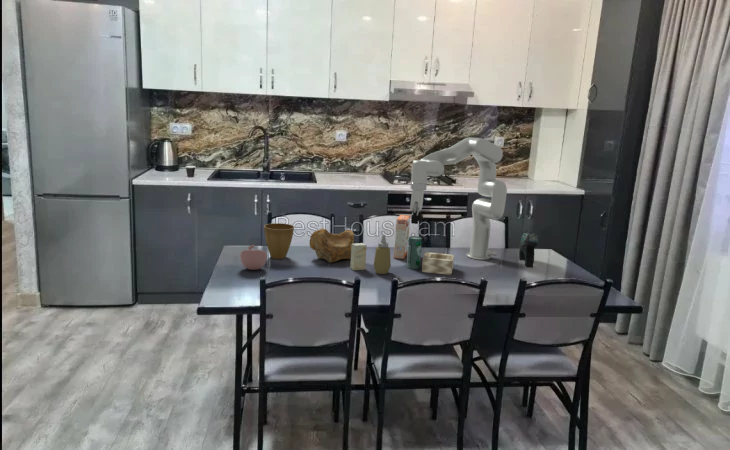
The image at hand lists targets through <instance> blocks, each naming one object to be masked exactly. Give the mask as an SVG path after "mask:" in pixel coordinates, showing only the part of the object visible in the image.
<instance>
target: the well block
mask: <svg viewBox="0 0 730 450" xmlns="http://www.w3.org/2000/svg"><path fill="white" fill-rule="evenodd" d="M454 257H455V254H448V253H439V252H427V251H425V253H424V254H423V257H422V264H421V272H422V273H429V274H430V273H431V274H439V275H440V274H441V275H447V276H452V273H453V269H454V259H455V258H454Z"/></svg>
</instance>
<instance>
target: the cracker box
mask: <svg viewBox="0 0 730 450" xmlns="http://www.w3.org/2000/svg"><path fill="white" fill-rule="evenodd" d="M395 223H396V225H395V237H394V248H393V249H394V252H393V258H394V259H397V260H398V259H400V260H404V259H405V258H406V256H407V255H408V240H409V237H410V225H411V215H410V214H409V215H408V214H399V216H398V217H397V218H396V222H395Z"/></svg>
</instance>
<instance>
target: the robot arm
mask: <svg viewBox="0 0 730 450" xmlns="http://www.w3.org/2000/svg"><path fill="white" fill-rule="evenodd" d="M471 155H472V156H473V158H474V160H476V162H477V164H478V167H479V173H478V184H477V193H478V194H479V195H480V196H483V197H486V198H483V197H481V198H477V199H475V200H474V201H473V202H472V205H471V211H472V212H471V213H472V222H471V223H472V224H471V225H472V226H471V235H470V245H469V246H470V247H469V248H470V249H469V252H467V253H466V257H467V258H470V259H473V260H480V261H481V260H482V261H483V260H484V261H485V260H490V259H491V256H495V257H496V256H497V254H498V253H497V251H494V250H492V251H491V250H490V248H489V246H490V244H489V243H490V235H491V221H490V220H493V221H494V220H495V221H497V220H500V219H501V218H503V215H504V213H505V208H506V202H507V194H508V188H507V187H508V186H507V185H506V183H505V182H504V181H503V180H500V179H497V165H496V164H497V163H499V162H501V160H502V158H503V156H504V155H503V149H502V148H501V147H500V146H498V145H497V144H495V143H493V142H491V141H489V140H487V139H486V138H480V137H466V138H463V139H462V140H460V141H458V142H456V143H455V144H453V145H451V146H450V147H446V148H444V149H441V150H438V151H434V152H430V153H429V154H427V155H425V156H424V157H423V158H421V159H420V160H419V159H416V160H413V161H412V165H411V167H412V168H411V177H410V178H411V179H410V190H412V191H411V198H410V205H409V210H410V211H412V212H411V217H410V224H414V225H418V224H419V221H421V218H422V217H421V216H422V215H421V214H422V213H421V212H422V211H421V210H422V209H423V203H424V191H427V184H428V176H429V177H439V176H441V175H443V173H444V172H445V166H446V165H455V164H458V163H460V162H462V161H463V160H465V159H466V158H469V156H471ZM488 198H491V199H488Z"/></svg>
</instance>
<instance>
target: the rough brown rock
mask: <svg viewBox="0 0 730 450" xmlns="http://www.w3.org/2000/svg"><path fill="white" fill-rule="evenodd" d="M354 239H355V232H353V231H352V230H348V229H347V230H344V231H342V232H340V233H331V232H329V231H328V230H327V229H326V228H320V229H318V230H315V231H313V233H312V234H311V235H310V238H309V247H310V249H312V250H313V251H314V252H315V255H316V257H317V258H318V259H323V260H326V262H328V263H329V264H332V263H335V262H338V261H340V260H351V245H352V244H355V243H354V242H355V240H354Z"/></svg>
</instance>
